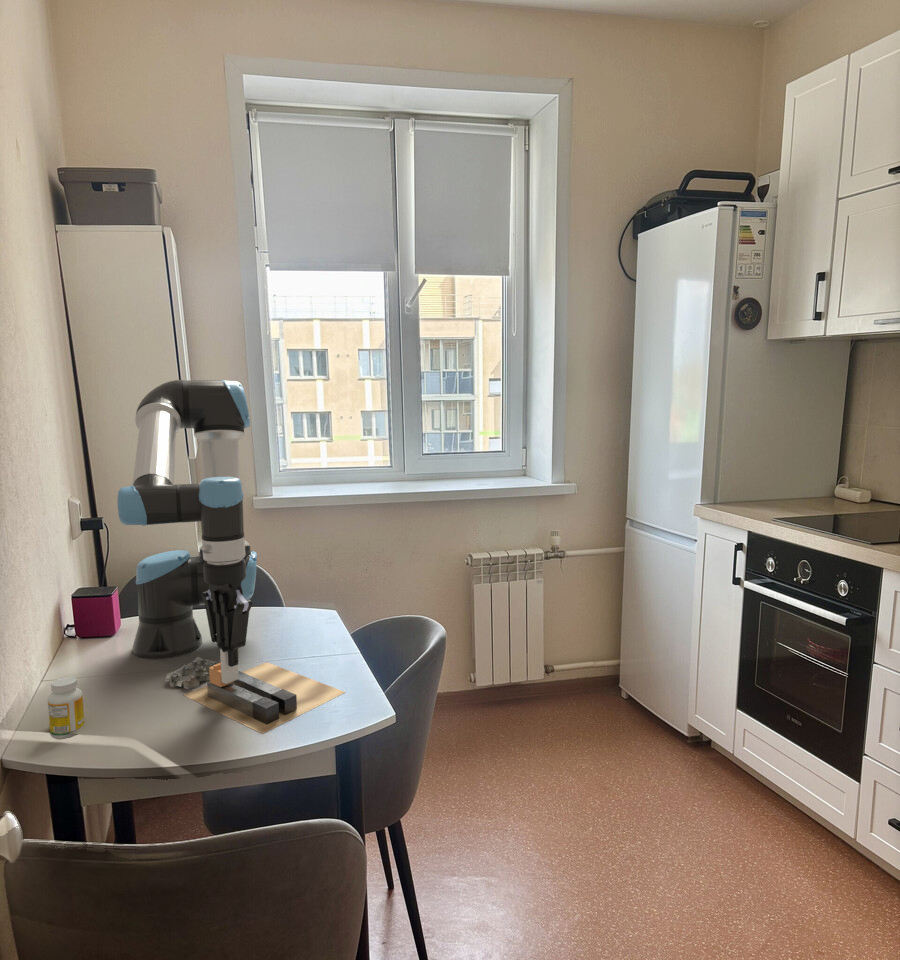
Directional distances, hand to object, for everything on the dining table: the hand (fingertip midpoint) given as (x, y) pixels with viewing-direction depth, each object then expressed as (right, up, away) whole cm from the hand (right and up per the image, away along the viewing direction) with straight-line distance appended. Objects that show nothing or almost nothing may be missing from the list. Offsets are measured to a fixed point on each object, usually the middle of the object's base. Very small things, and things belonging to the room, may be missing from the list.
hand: (230, 680), depth 123 cm
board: (+5, -5, +5) cm, 9 cm away
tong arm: (+5, -4, +2) cm, 7 cm away
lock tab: (-2, -1, +2) cm, 3 cm away
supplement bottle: (-26, -7, -8) cm, 28 cm away
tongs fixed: (+2, -4, 0) cm, 5 cm away
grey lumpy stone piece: (-12, -5, +12) cm, 17 cm away
